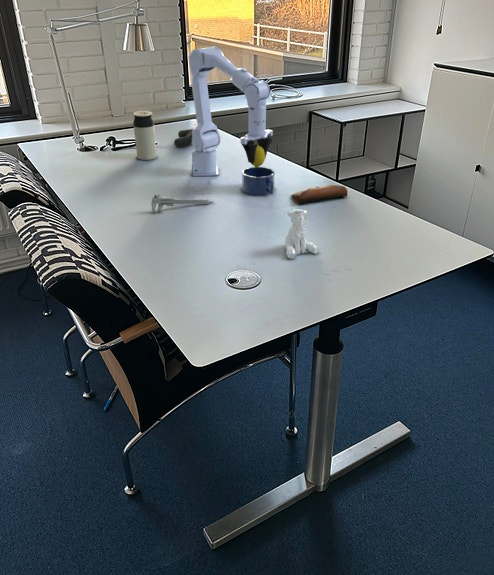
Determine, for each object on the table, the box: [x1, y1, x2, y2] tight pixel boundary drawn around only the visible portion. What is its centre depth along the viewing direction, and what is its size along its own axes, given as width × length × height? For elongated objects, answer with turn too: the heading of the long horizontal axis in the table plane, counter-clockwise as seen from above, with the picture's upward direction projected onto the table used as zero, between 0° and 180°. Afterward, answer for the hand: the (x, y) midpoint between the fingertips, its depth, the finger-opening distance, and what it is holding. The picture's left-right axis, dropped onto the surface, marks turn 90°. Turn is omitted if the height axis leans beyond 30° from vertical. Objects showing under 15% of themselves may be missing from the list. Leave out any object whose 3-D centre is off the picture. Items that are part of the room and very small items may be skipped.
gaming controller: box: [173, 127, 194, 148], centre depth 234 cm, size 17×6×10 cm
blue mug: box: [241, 166, 275, 196], centre depth 184 cm, size 14×11×6 cm
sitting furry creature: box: [284, 208, 319, 260], centre depth 144 cm, size 10×9×12 cm
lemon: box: [250, 145, 266, 168], centre depth 181 cm, size 6×6×8 cm
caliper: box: [151, 193, 213, 214], centre depth 171 cm, size 20×1×6 cm, turn 116°
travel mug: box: [132, 110, 158, 161], centre depth 213 cm, size 8×8×18 cm
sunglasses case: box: [291, 184, 348, 205], centre depth 179 cm, size 18×7×7 cm
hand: (256, 160), depth 181 cm, fingers closed on lemon, 5 cm apart
